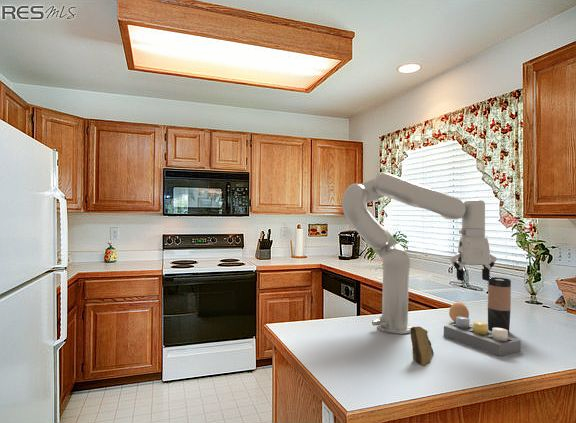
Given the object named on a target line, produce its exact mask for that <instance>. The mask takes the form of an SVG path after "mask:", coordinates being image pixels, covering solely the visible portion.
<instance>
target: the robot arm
mask: <svg viewBox="0 0 576 423" xmlns="http://www.w3.org/2000/svg"><path fill="white" fill-rule="evenodd" d="M383 197H387V198H390V199H392V200H395V201H398V202H400V203H402V204H405V205H407V206H410V207H414V208H419V209H424V210H427V211H430V212H432V213H435V214H439V215H440V216H441V217H442V218H443V219H446V220H459V219H461V229H460V230H458V234H460V235H461V236H460V238H459V241H458V246H457V249H458V250H457V252H456V253H455V254H453V255H452V256H450V257H449V260H450V262H451V264H452V266H453V267H454V268H455V269H456V278H457V279H456V280H457V281H461V282H464V280H465V278H464V277H465V276H464V273H465V270H464V267H465V266H467V265H468V266H482V270H481V278H482V280H483V281H487V282H489V278H490V276H491V275H490V273H491V272H490V271H491V270H492V268H493V267H494V265H495V263H496V261H497V258H498V257H496V256H494V255H493V254H491V253H490V252H491V251H490V243H489V239H488V237H486V202H485V201H484V200H483V199H466V200H461V199H459V198H457V197H454V196H451V195H449V194H448V193H447V194H446V193H444V192H441V191H438V190H435V189H433V188H432V189H431V188H428V187H426V186H423V185H421V184H419V183H415V182H413V181H409V180H407V179H405V178H402V177H399V176H397V175H394V174H391V173H387V172H382V173H380V174H378V175H376V177H375V178H373V179H371V180H368V181H364V182H362V183H353V184H349V185H348V187H347V188H345V191H344V192H343V195H342V200H341V208H342V212H343V214H344V217H345V218H346V220H347V221H348V222H349V224H350V225H351V226H352V228H353V229H354V230H355V231H356V232H357V233H358V235H359V236H360V237H361V238H362V239H363V240H364V242H365V243H366V245H367V246H368V247H370V249H372V250H373V251H374V252H375V253H376V254H377V256H379V258H380V259H381V260H382V264H383V265H382V301H381V303H382V304H381V315H380V316H379V318H378V319H375V320H372V321H371V324H372V326H374V327H375V326H377V328H378V329H379V330H380V331H383V332H386V333H389V334H390V333H391V334H396V335H397V334H398V335H402V334H403V335H404V334H409V333H410V334H411V332H410V328H412V326H411V325H409V324H408V323H409V322H408V321H409V319H408V318H409V287H410V286H409V284H410V282H409V280H410V266H411V258H410V254H409V253H408V251H407V250H406V249H405V248H404V247H403V246H402V245H401V244H400V243H399V242H398V241H397V239H396V238H395V237H394V236H393V235H392V234H391V233H390V232H389V231H388V230H387V229H386V227H384V226H383V225H382V224H381V223H380V222H378V220H377V219H376V218H375V217H374V216H373V215H372V213H371V212H369V210H368V209H367V208H366V206H365V204H368V203H370V202H371V203H372V202H373V201H377V200H379V199H382V198H383ZM457 261H458V262H457ZM490 279H491V278H490Z"/></svg>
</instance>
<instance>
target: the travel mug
mask: <svg viewBox="0 0 576 423" xmlns="http://www.w3.org/2000/svg"><path fill="white" fill-rule="evenodd" d="M511 286H512V280H511V279H509V278H505V277H498V276H497V277H496V276H495V277H491V278H489V281H488V290H487V292H488V293H487V294H488V295H487V324H488V330H490V331H492V328H503V329H506V330H508V334H509V333H510V326H511V324H510V323H511V304H512V303H511V298H512V297H511V293H512V292H511V290H512V289H511V288H512V287H511Z"/></svg>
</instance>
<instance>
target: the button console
mask: <svg viewBox="0 0 576 423" xmlns="http://www.w3.org/2000/svg"><path fill="white" fill-rule="evenodd" d="M443 337H446V338H449V339H450V340H451V339H452V340H455V341H456V342H460V343H462V344H464V345H468V346H470V347H473V348H476V349H479V350H481V351H484V352H487V353H489V354H492V355H495V356H497V357H503V356H507V355H510V354H515V353H519V352H521V350H522V349H521V347H522V346H521V345H522V340H521V339H518V338H515V337H511V336H509V335H508V341H507V342H501V341H496V340H494V339H492V331H490V330H488V334H487V335H479V334H475V333H474V332H473V324H470V323H469V329H461V328H458V327H456V323H453V324H447V325H443Z"/></svg>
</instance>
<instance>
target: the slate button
mask: <svg viewBox="0 0 576 423" xmlns="http://www.w3.org/2000/svg"><path fill="white" fill-rule="evenodd" d="M455 324H456V327H458V328H461V329H469V324H470V318H466V317H456V322H455Z"/></svg>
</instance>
